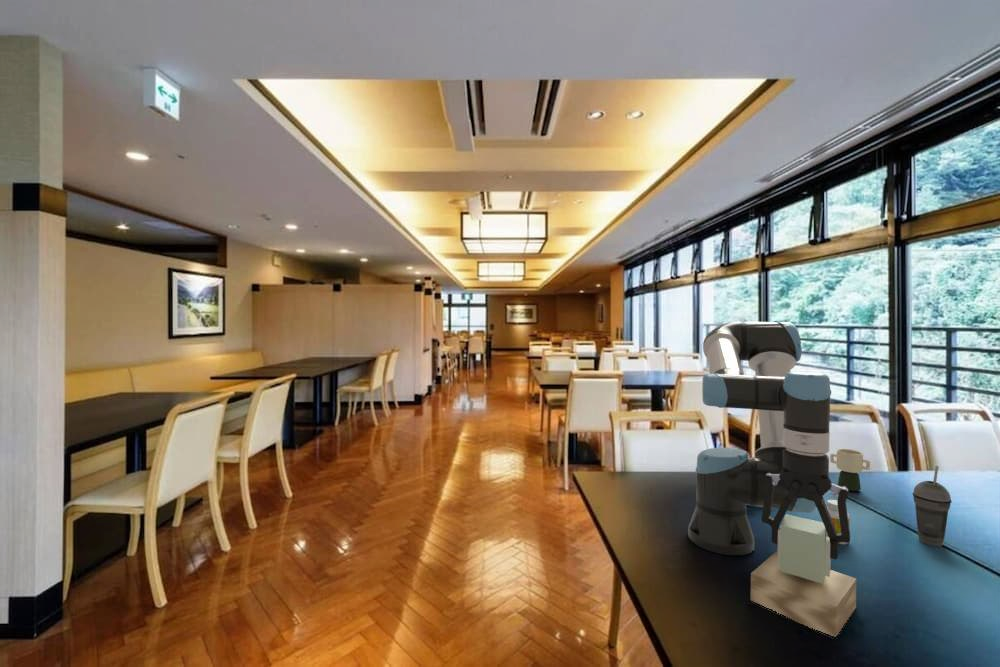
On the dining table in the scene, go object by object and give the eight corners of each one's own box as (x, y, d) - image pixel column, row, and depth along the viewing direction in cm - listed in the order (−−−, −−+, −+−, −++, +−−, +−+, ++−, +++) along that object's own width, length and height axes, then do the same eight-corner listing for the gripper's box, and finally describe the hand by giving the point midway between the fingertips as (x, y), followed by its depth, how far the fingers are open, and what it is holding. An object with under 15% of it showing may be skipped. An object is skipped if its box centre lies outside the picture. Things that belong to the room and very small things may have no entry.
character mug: (872, 492, 150) (873, 453, 150) (866, 496, 146) (867, 457, 145) (832, 482, 159) (833, 446, 158) (826, 487, 154) (827, 449, 154)
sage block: (780, 570, 88) (780, 525, 88) (784, 556, 94) (785, 513, 93) (823, 583, 84) (824, 536, 84) (826, 568, 89) (827, 523, 89)
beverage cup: (930, 535, 119) (931, 460, 118) (959, 549, 111) (961, 469, 111) (903, 535, 118) (905, 460, 118) (931, 549, 111) (932, 469, 111)
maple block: (750, 603, 90) (750, 573, 90) (776, 578, 99) (776, 551, 99) (835, 640, 79) (836, 607, 79) (855, 609, 88) (856, 578, 88)
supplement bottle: (838, 546, 113) (838, 507, 112) (817, 536, 118) (818, 499, 118) (854, 543, 114) (855, 505, 114) (833, 534, 119) (834, 497, 119)
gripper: (744, 446, 92) (743, 557, 92) (871, 465, 79) (868, 594, 80) (751, 439, 97) (750, 543, 98) (870, 456, 85) (868, 576, 85)
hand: (803, 566), depth 89 cm, fingers closed on sage block, 7 cm apart
